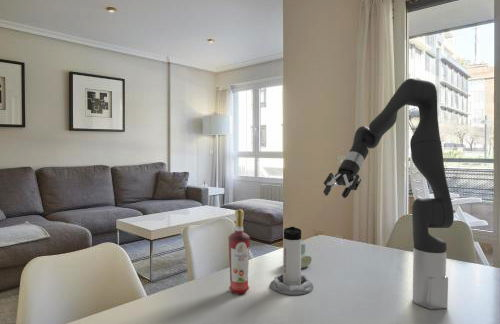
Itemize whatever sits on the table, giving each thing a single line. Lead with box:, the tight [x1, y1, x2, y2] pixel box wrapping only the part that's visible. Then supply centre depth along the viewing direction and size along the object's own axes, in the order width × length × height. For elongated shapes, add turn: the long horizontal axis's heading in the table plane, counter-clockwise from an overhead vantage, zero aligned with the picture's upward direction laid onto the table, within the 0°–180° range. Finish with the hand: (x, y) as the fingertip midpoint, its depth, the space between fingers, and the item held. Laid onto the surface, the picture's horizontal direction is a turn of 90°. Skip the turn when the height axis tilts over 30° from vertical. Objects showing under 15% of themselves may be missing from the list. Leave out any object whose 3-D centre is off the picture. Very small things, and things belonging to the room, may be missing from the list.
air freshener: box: [301, 240, 313, 269], centre depth 143 cm, size 11×8×10 cm
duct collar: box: [270, 273, 314, 296], centre depth 122 cm, size 15×15×3 cm
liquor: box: [227, 209, 251, 295], centre depth 117 cm, size 7×7×28 cm
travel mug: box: [282, 226, 302, 285], centre depth 122 cm, size 6×7×20 cm
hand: (334, 195), depth 133 cm, fingers open, 8 cm apart
